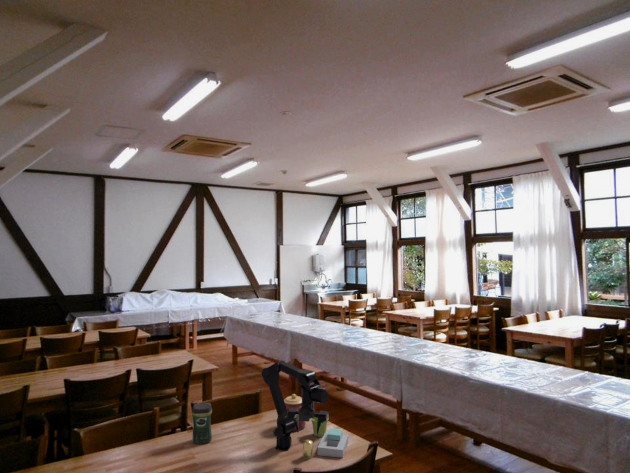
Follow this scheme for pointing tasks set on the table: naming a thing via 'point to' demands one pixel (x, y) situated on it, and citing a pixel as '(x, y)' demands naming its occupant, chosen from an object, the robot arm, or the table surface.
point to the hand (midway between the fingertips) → (307, 433)
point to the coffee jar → (201, 423)
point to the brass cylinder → (307, 449)
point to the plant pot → (322, 427)
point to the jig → (333, 446)
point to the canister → (295, 403)
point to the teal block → (335, 434)
